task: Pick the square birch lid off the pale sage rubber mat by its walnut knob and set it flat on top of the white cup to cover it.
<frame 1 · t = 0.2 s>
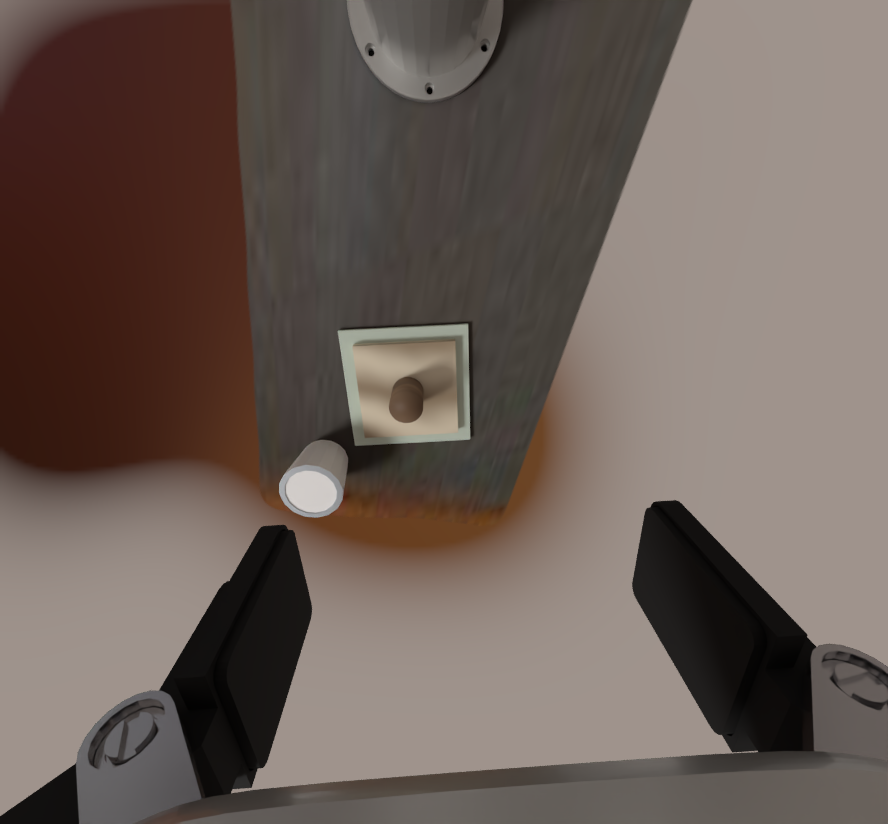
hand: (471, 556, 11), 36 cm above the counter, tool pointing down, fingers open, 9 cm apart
mat: (408, 387, 47), on the counter
white cup: (325, 458, 51), on the counter
lid: (408, 388, 47), resting on mat
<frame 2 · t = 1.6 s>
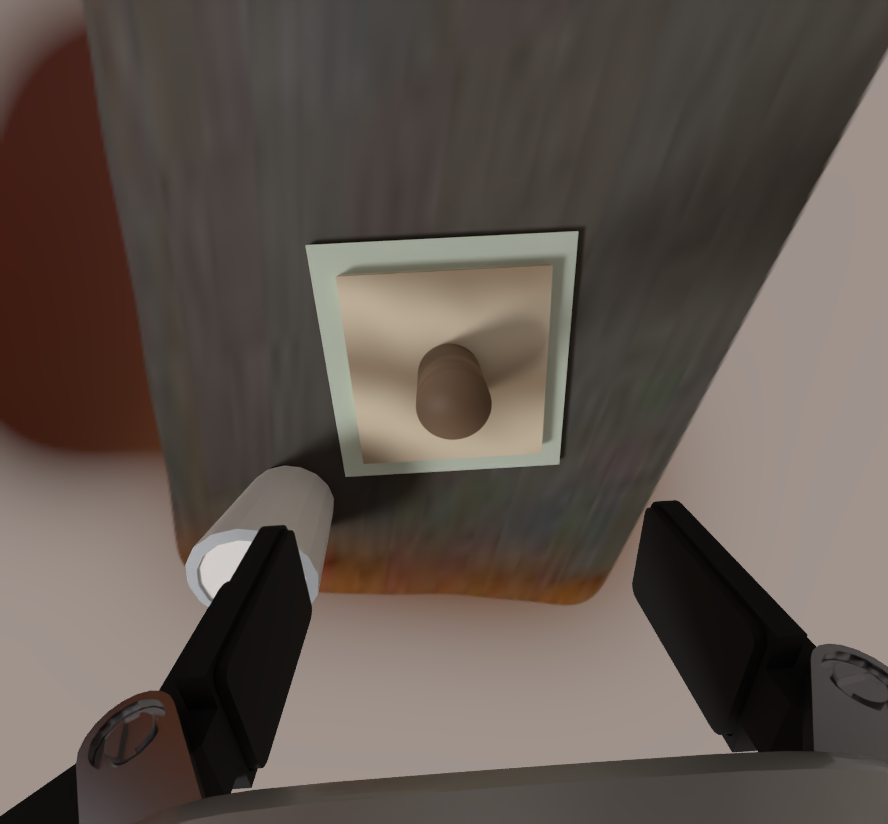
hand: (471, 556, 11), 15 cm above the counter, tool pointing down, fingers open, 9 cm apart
mat: (447, 365, 24), on the counter
white cup: (293, 499, 28), on the counter
lid: (448, 368, 24), resting on mat
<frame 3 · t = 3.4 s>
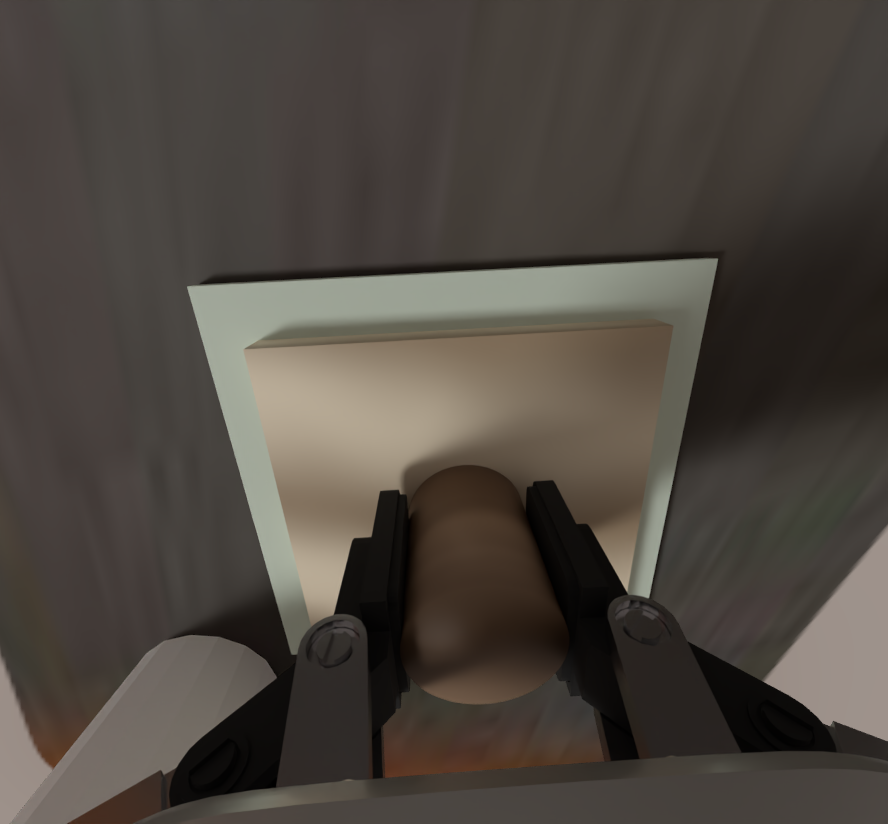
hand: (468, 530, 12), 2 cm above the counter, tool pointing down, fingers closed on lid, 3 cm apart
mat: (462, 486, 14), on the counter
white cup: (212, 676, 17), on the counter
lid: (463, 495, 13), resting on mat, touching gripper
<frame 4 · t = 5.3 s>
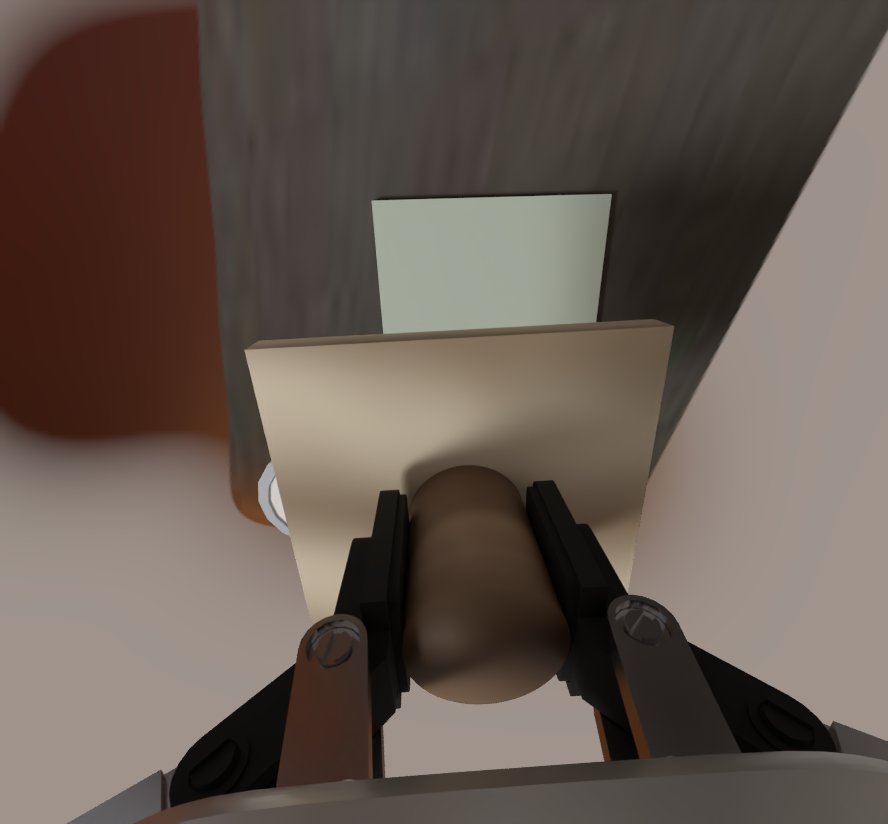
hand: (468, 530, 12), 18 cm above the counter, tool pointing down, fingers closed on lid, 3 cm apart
mat: (489, 317, 27), on the counter
white cup: (340, 442, 31), on the counter
lid: (464, 495, 13), point 16 cm above the counter, touching gripper
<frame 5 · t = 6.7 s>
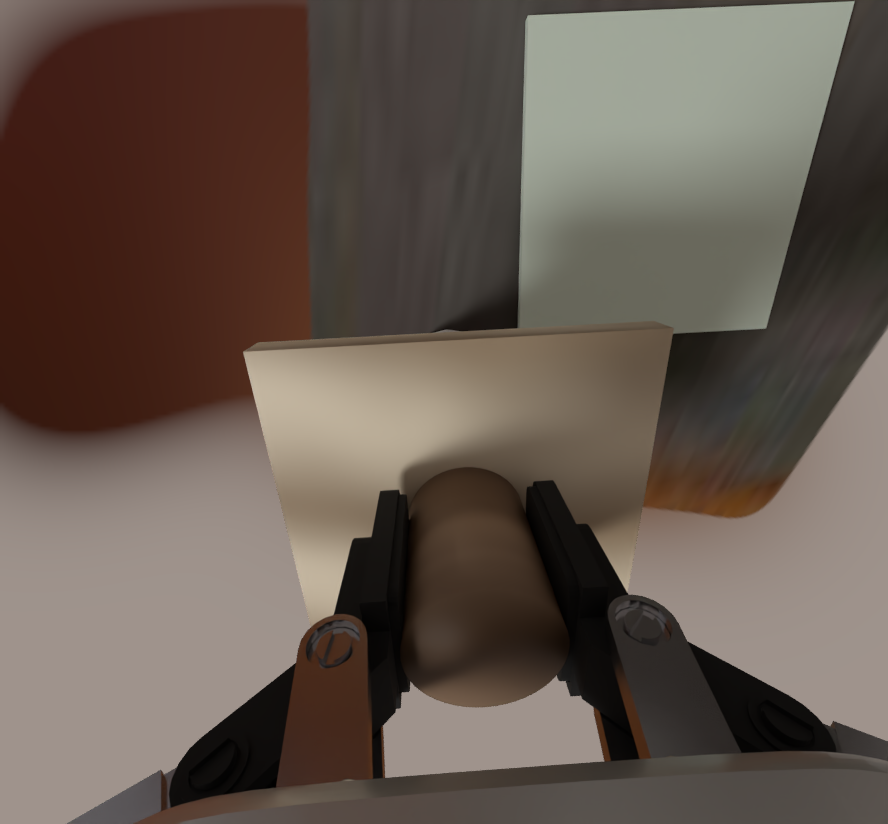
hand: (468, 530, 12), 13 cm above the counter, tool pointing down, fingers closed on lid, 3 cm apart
mat: (659, 195, 21), on the counter
lid: (463, 497, 13), point 12 cm above the counter, touching gripper
when the fingers open (10 cm above the counter, at t = 7.6 s): lid stays where it is, resting on white cup.
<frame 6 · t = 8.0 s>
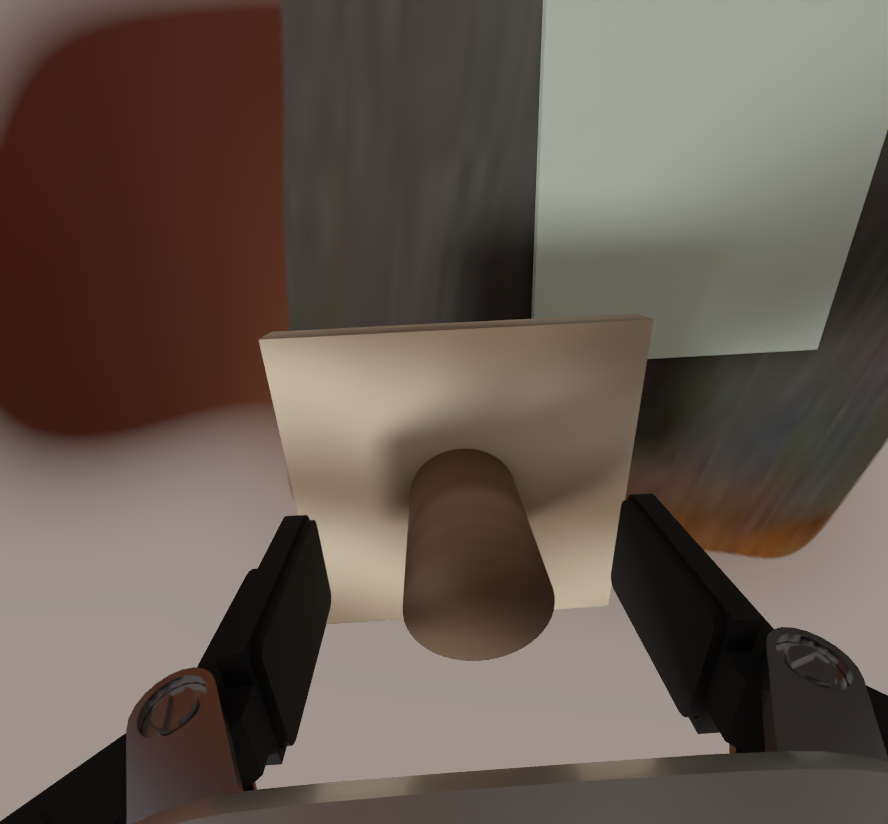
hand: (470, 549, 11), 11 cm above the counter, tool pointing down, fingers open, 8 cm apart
mat: (697, 195, 17), on the counter
lid: (460, 478, 14), point 7 cm above the counter, touching white cup
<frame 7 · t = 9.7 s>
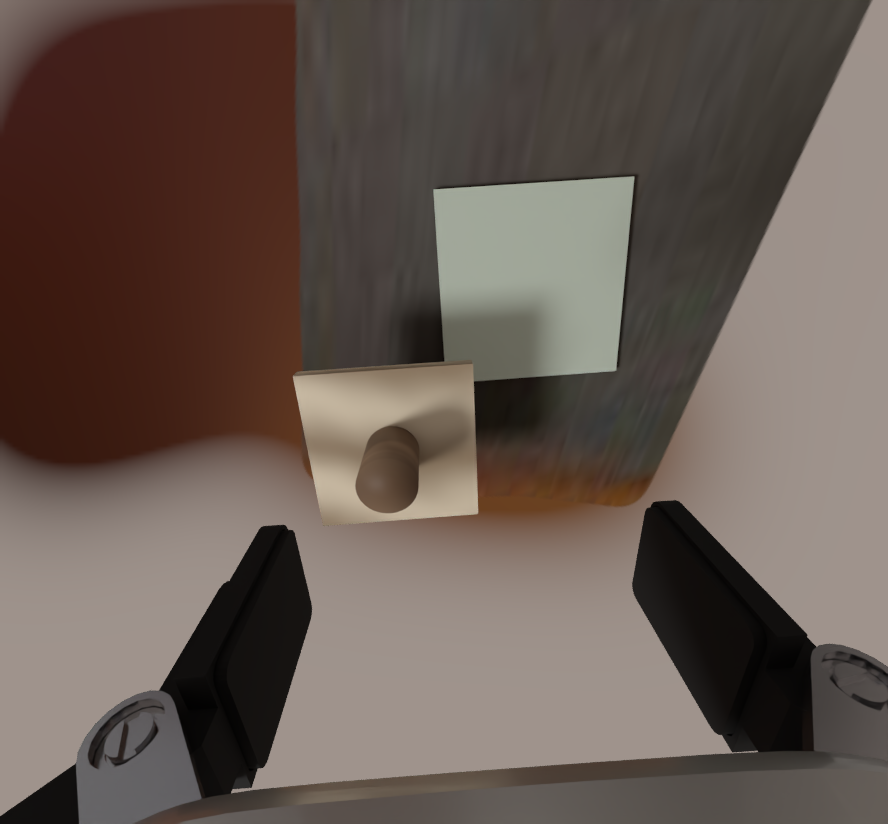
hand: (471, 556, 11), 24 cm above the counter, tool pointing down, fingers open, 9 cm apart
mat: (531, 287, 31), on the counter
lid: (393, 443, 28), point 7 cm above the counter, touching white cup
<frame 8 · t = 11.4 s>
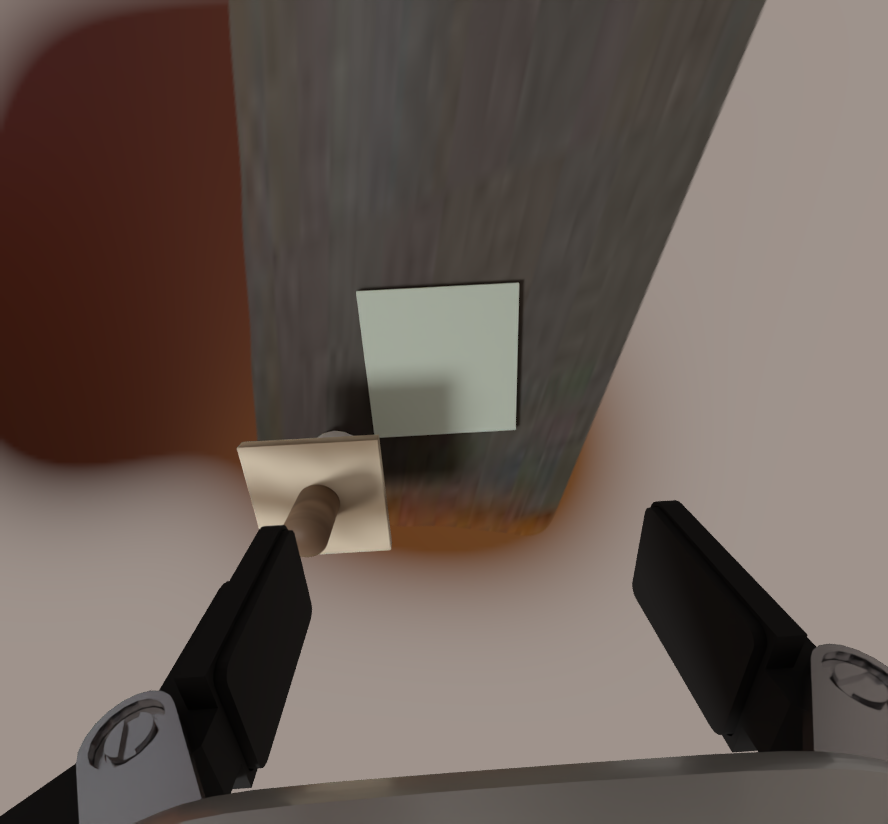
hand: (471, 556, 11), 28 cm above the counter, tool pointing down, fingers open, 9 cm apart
mat: (441, 364, 38), on the counter
lid: (321, 495, 35), point 7 cm above the counter, touching white cup
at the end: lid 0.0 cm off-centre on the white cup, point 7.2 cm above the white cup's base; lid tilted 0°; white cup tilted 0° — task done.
